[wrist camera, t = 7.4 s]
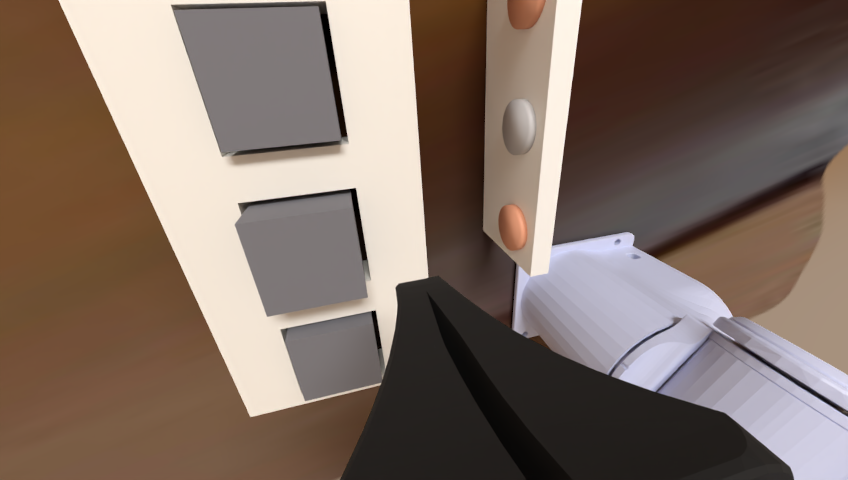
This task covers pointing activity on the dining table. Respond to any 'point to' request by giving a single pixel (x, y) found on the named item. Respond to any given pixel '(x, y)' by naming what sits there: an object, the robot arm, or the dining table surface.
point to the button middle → (303, 251)
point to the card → (526, 122)
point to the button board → (265, 169)
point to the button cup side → (334, 355)
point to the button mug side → (262, 75)
